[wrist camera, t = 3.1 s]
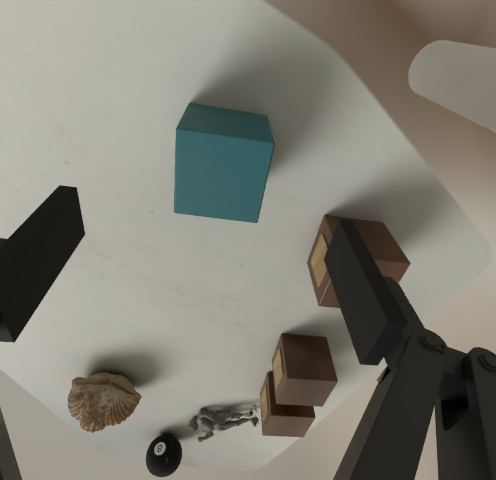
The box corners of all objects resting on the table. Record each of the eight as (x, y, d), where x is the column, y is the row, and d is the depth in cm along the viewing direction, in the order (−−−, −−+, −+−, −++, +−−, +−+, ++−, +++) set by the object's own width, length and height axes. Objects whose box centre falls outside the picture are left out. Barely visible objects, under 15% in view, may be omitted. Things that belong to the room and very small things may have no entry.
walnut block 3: (383, 222, 30) (411, 263, 25) (360, 268, 34) (381, 312, 29) (322, 214, 30) (338, 255, 25) (305, 262, 33) (316, 306, 28)
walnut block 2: (307, 374, 46) (315, 417, 41) (297, 395, 50) (303, 437, 45) (266, 372, 45) (269, 415, 41) (259, 393, 49) (261, 435, 44)
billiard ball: (155, 444, 59) (148, 483, 54) (146, 430, 56) (137, 470, 51) (187, 442, 59) (182, 480, 54) (179, 428, 55) (174, 468, 51)
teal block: (267, 115, 24) (275, 142, 19) (254, 185, 28) (257, 223, 23) (186, 102, 23) (173, 127, 19) (183, 176, 27) (171, 213, 22)
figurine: (263, 436, 50) (193, 456, 51) (262, 415, 54) (196, 434, 55) (250, 408, 48) (177, 428, 49) (250, 388, 52) (182, 408, 53)
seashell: (85, 352, 43) (74, 385, 46) (59, 402, 37) (49, 435, 40) (152, 370, 45) (137, 400, 48) (138, 420, 39) (122, 450, 42)
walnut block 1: (326, 337, 41) (338, 381, 36) (313, 363, 44) (322, 406, 40) (280, 333, 40) (285, 377, 35) (270, 360, 44) (274, 404, 39)
